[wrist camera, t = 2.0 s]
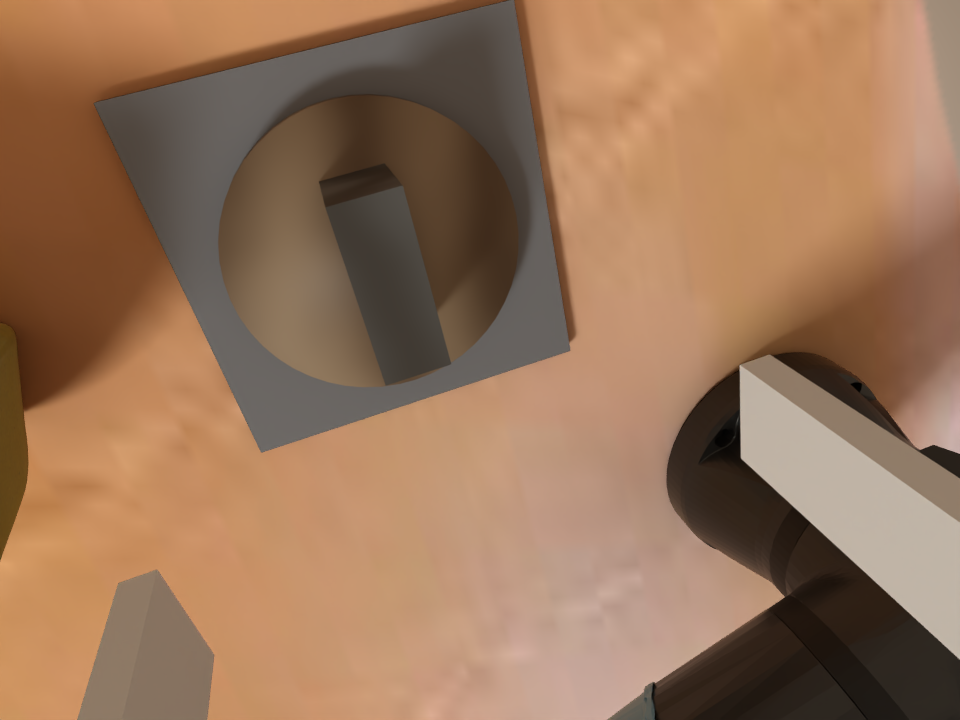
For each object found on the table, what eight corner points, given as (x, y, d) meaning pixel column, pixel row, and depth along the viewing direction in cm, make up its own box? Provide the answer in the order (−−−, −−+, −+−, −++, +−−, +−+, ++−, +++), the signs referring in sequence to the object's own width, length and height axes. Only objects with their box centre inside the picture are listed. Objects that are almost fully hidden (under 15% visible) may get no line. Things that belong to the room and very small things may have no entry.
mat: (509, -1, 29) (513, -1, 28) (566, 346, 37) (570, 350, 37) (97, 101, 26) (93, 103, 26) (261, 446, 35) (261, 452, 34)
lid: (480, 59, 29) (524, 64, 23) (532, 330, 36) (576, 381, 30) (165, 141, 27) (136, 166, 22) (284, 410, 34) (285, 480, 28)
